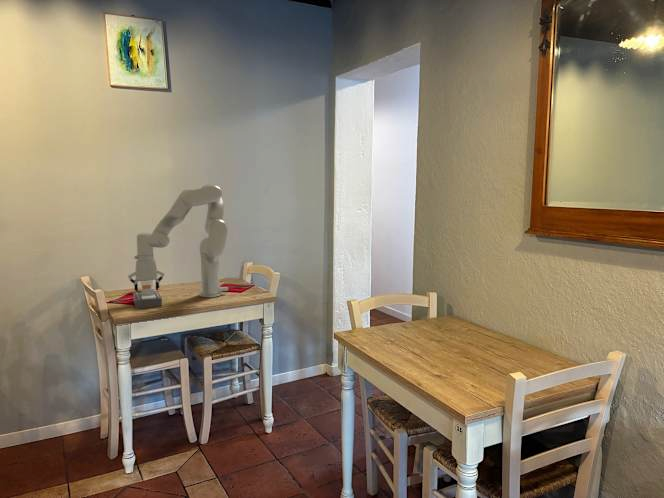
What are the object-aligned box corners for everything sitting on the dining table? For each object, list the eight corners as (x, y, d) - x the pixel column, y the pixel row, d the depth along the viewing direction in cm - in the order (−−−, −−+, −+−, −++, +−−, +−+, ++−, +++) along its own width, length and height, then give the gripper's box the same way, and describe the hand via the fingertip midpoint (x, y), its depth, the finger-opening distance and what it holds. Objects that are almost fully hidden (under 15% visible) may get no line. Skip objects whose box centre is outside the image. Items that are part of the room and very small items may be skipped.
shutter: (154, 295, 243) (154, 288, 242) (156, 298, 237) (155, 291, 236) (140, 296, 240) (140, 289, 239) (141, 299, 234) (141, 292, 234)
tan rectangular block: (151, 302, 246) (150, 285, 244) (143, 303, 244) (142, 285, 243) (150, 300, 249) (150, 283, 248) (142, 301, 248) (141, 284, 246)
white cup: (158, 289, 274) (157, 272, 272) (151, 292, 266) (151, 274, 264) (145, 288, 274) (144, 271, 273) (138, 291, 267) (137, 274, 265)
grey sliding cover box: (158, 298, 254) (157, 290, 253) (161, 306, 240) (161, 297, 239) (133, 300, 249) (133, 291, 248) (136, 308, 234) (135, 299, 234)
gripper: (127, 260, 236) (129, 294, 239) (164, 257, 244) (165, 290, 246) (126, 257, 243) (128, 290, 246) (162, 255, 250) (163, 287, 253)
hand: (147, 290), depth 246 cm, fingers open, 9 cm apart
